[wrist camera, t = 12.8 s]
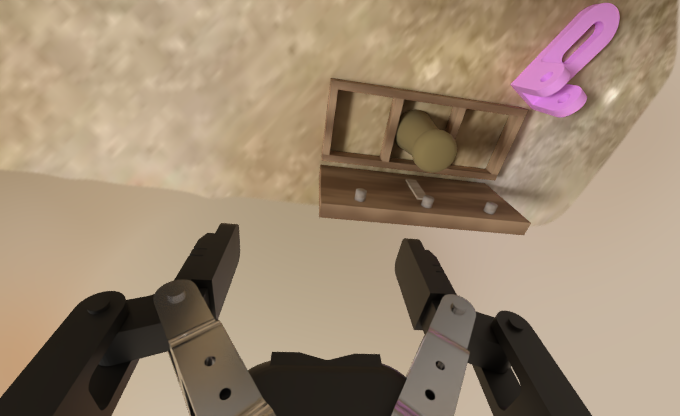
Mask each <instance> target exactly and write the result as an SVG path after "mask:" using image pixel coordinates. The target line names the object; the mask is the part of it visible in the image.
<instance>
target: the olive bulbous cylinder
mask: <svg viewBox="0 0 680 416" xmlns="http://www.w3.org/2000/svg"><path fill="white" fill-rule="evenodd" d="M394 141H395V143H396V144H397V145H398V146H399V147H400V148H402V149H403V150H405V151H406V152H408V153H409V154H411V155H412V157H413V160H414V163H415V164H416V165H417V166H418V167H419V168H420V169H421V170H423V171H425V172H429V173H435V172H440V171H442V170H444V169H446V168H447V167H449V166H450V165H451V164H452V162H453V161H454V159H455V157H456V154H457V145H456V142H455V139H454V138H453V137H452V135H451V134H449V133H447V132H446V131H444V130H438V128H437V127H436V125H435V124H434V123H433V121H432V120H431V118H430V117H429V116H428V115H427V113H425V112H423V111H421V110H416V109H415V110H409V111H407V112H405V113H403V114H402V115H401V116H400V118H399V122H398V126H397V130H396V134H395V138H394Z"/></svg>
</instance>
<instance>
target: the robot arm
mask: <svg viewBox="0 0 680 416" xmlns="http://www.w3.org/2000/svg"><path fill="white" fill-rule="evenodd" d="M239 257H240V239H239V225H238V224H227V223H221V224H220V225H219V227H218V229H217V231H216V233H215V234H214V233H207V234H206V235H204V236H203V237H201V238H200V239H199V240H198V241H197V243H196V245H195V246H194V249H193V250H192V251H191V253H190V256H189V257H188V258H187V260H186V261H185V263H184V265H183V266H182V268H181V270H180V271H179V273H178V275H177V277H176V278H175V280H174V281H171V282H169V283H166V284H164V285H163V286H161V287H160V288H159V289H158V290H157V291H156V293H155V294H153V295H150V296H146V297H140V298H135V299H130V300H126V299H125V296H124V295H123V294H122V293H120V292H116V291H106V292H101V293H97V294H95V295H92V296H90V297H88V298H86V299H85V300H83V301H81V302H80V303H79V304H78V305H77V306H76V307H75V308H74V309H73V311H72V312H71V313H70V314H69V316H68V317H67V318H66V319H65V320H64V321H63V323H62V324H61V325H60V327H59V328H58V329H57V330H56V331H55V332H54V334H53V335H52V336H51V337H50V338H49V340H48V341H47V342H46V343H45V344H44V346H43V347H42V348H41V349H40V350H39V352H38V353H37V354H36V355H35V357H34V358H33V359H32V360H31V362H30V363H29V364H28V365H27V366H26V368H25V369H24V370H23V371H22V372H21V373H20V375H19V376H18V377H17V378H16V380H15V381H14V382H13V383H12V384H11V386H10V387H9V388H8V389H7V391H6V392H5V393H4V394H3V395H2V397H1V398H0V416H111V415H112V413H113V411H114V409H115V407H116V405H117V403H118V401H119V399H120V397H121V395H122V393H123V391H124V389H125V387H126V385H127V383H128V381H129V379H130V377H131V375H132V373H133V371H134V369H135V367H136V365H137V363H138V361H139V359H140V358H143V357H147V356H151V355H155V354H159V353H163V352H167V351H168V354H169V357H170V360H171V362H172V365H173V368H174V371H175V374H176V377H177V379H178V382H179V385H180V387H181V390H182V394H183V397H184V400H185V403H186V406H187V409H188V412H189V415H190V416H454V413H455V410H456V406H457V402H458V398H459V394H460V390H461V386H462V382H463V378H464V374H465V370H466V366H467V363H470V364H472V365H473V368H474V370H475V372H476V375H477V377H478V379H479V382H480V384H481V387H482V389H483V392H484V394H485V396H486V399H487V401H488V404H489V406H490V408H491V411H492V413H493V416H592V415H591V413H590V412H589V411H588V409H587V408H586V406H585V405H584V404H583V402H582V400H581V399H580V397H579V396H578V395H577V393H576V391H575V390H574V389H573V387H572V386H571V384H570V383H569V381H568V380H567V378H566V377H565V375H564V374H563V372H562V371H561V370H560V368H559V367H558V365H557V364H556V362H555V361H554V359H553V358H552V356H551V355H550V353H549V352H548V351H547V349H546V347H545V346H544V345H543V343H542V342H541V340H540V339H539V337H538V336H537V334H536V333H535V331H534V330H533V329H532V327H531V326H530V324H529V323H528V322H527V321H526V320H525V319H523V318H522V317H521V316H519V315H517V314H515V313H513V312H510V311H500V312H499V313H498V314H497V315H496V317H495V318H494V317H491V316H488V315H484V314H481V313H479V312H476V311H475V309H474V307H473V306H472V305H471V303H469V302H468V301H467V300H466V299H464V298H463V297H460V296H458V295H457V294H456V293H455V291H454V289H453V287H452V285H451V283H450V281H449V280H448V278H447V276H446V274H445V273H444V270H443V269H442V267H441V265H440V263H439V261H438V259H437V257H435V256H434V255H433V254H432V253H431V252H430V251H429V250H425V249H424V247H423V245H422V243H421V241H420V240H418V239H406V238H405V239H403V241H402V244H401V246H400V249H399V252H398V255H397V259H396V262H395V274H396V277H397V280H398V283H399V286H400V289H401V292H402V295H403V298H404V301H405V304H406V307H407V310H408V313H409V316H410V319H411V322H412V326H413V328H414V330H423V331H424V334H425V336H424V337H423V340H422V342H421V344H420V346H419V348H418V351H417V353H416V355H415V358H414V360H413V362H412V364H411V367H410V369H409V371H408V373H407V375H406V377H405V376H404V375H402V374H401V373H400V372H398V371H397V370H395V369H393V368H392V367H390V366H387V365H385V364H382V363H381V358H380V354H352V355H348V356H344V357H339V358H335V359H332V360H324V359H320V358H317V357H314V356H310V355H307V354H303V353H300V352H298V353H297V352H272V355H271V361H268V362H264V363H262V364H259V365H257V366H255V367H253V368H251V369H249V370H247V368H246V367H245V365H244V363H243V361H242V359H241V358H240V356H239V354H238V352H237V350H236V348H235V347H234V345H233V343H232V341H231V339H230V338H229V336H228V334H227V332H226V330H225V328H224V327H223V325H222V323H221V322H220V321H219V320H218V317H219V315H220V312H221V309H222V306H223V303H224V301H225V298H226V295H227V293H228V290H229V287H230V284H231V281H232V278H233V276H234V273H235V270H236V268H237V265H238V262H239ZM511 366H512V368H513V370H514V372H515V373H516V375H517V377H518V379H519V382H520V384H519V382H518V380H517V379H516V377H515V375H514V373H513V371H512V369H511ZM520 385H521V386H520Z"/></svg>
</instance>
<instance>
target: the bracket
mask: <svg viewBox="0 0 680 416" xmlns="http://www.w3.org/2000/svg"><path fill="white" fill-rule="evenodd" d="M619 19H620V16H619V11H618V9H617V7H616V6H615V5H613V4H611V3H601V4H594V5H591V6H588V7H586V8H585V9H583V10H582V11H581V12H579V13H578V14H577V15H576V17H575V18H574V19H573V20H572V21H571V22H570V23H569V24H568V25H567V26H566V27H565V28H564V29H563V30H562V31H561V32H560V33H559V34H558V35H557V36H556V37H555V38H554V39H553V41H552V42H551V43H550V44H549V45H548V46H547V47H546V48H545V49H544V50H543V51H542V52H541V53H540V54H539V55H538V56H537V57H536V58H535V59H534V60H533V61H532V62H531V64H530V65H529V66H528V67H527V68H526V69H525V70H524V71H523V72H522V73H521V74H520V75H519V76H518V77H517V78H516V79H515V80H514V81H513V82H512V83H511V84H510V85H511V86H512V87H513V88H514V89H515V90H516V92H517V93H518V94H519V95H520V96H521V97H522V98H523V99H524V101H525V102H526V103H527V104H528V105H529V106H530V107H531V108H532V109H534V110H537V111H540V112H543V113H546V114H549V115H552V116H556V117H565V116H568V115H571V114H573V113H575V112H576V111H578V110H579V109H580V108H581V107H582V106H583V105H584V104H585V102H586V100H587V95H586V94H585V93H584V91H583V90H582V89H581V87H579V86H576V85H570V84H566V83H567V82H568V81H569V80H570V79H571V78H573V77H574V76H575V75H576V74H577V73H578V72H579V71H580V70H581V69H582V68H583V67H584V66H585V65H586V64H587V63H588V62H589V61H590V60H591V59H592V58H593V57H594V56H595V55H596V54H598V53H599V52H600V51H601V50H602V49H603V48H604V47H605V46H606V45H607V44H608V43H609V42H610V40H611V39H612V38H613V36H614V34H615V33H616V30H617V28H618V25H619ZM593 24H595V30H594V32H593V34H592V35H591V36H590V37H589V38H588V39H587V40H586V41H585V42H584V43H583V44H582V45H581V46H580V47H579V48H578V49H577V50H576V51H575V52H574V53H573V54H572V55H571V56H570V57H569V58H568V59H567V60H566V61H565V62H562V57H563V55H564V53H565V52H566V51H567V50H568V49H569V48H570V47H571V46H572V45H573V44H574V43H575V42H576V41H577V40H578V39H579V38H580V37H581V36H582V35H583V34H584V33H585V32H586V31H587V30H588V29H589V28H590V27H591V26H592V25H593Z"/></svg>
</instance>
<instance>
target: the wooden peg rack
mask: <svg viewBox="0 0 680 416" xmlns="http://www.w3.org/2000/svg"><path fill="white" fill-rule="evenodd" d="M338 89H339V90H345V91H352V92H359V93H365V94H372V95H379V96H385V97H392V98H393V101H392V105H391V109H390V114H389V118H388V122H387V127H386V131H385V136H384V140H383V144H382V149H381V153H380V156H372V155H363V154H355V153H347V152H338V151H330V146H331V138H332V131H333V123H334V116H335V108H336V101H337V93H338ZM404 99H406V100H412V101H419V102H426V103H432V104H439V105H446V106H452V107H453V108H452V111H451V114H450V117H449V120H448V123H447V126H446V129H445V131H446V132H447V133H449V134H451V135H452V137H453V138H454V139H456V136H457V133H458V130H459V128H460V125H461V122H462V119H463V117H464V114H465V111H466V109H473V110H479V111H486V112H493V113H499V114H506V115H509V117H508V120H507V122H506V124H505V126H504V129H503V131H502V133H501V135H500V138H499V140H498V142H497V144H496V147H495V149H494V151H493V153H492V156H491V158H490V160H489V162H488V165H487V167H486V169H480V168H472V167H464V166H455V165H450V166H449V167H447V168H446V169H444V170H442V171H440V172H435V173H434V174H443V175H452V176H460V177H469V178H478V179H487V180H496V177H497V175H498V173H499V171H500V169H501V167H502V165H503V163H504V161H505V158H506V156H507V154H508V152H509V150H510V148H511V146H512V144H513V141H514V139H515V137H516V135H517V133H518V131H519V129H520V127H521V125H522V122H523V120H524V118H525V116H526V114H527V112H528V110H527V109H524V108H521V107H515V106H509V105H502V104H496V103H489V102H483V101H476V100H470V99H463V98H457V97H450V96H444V95H437V94H431V93H424V92H418V91H411V90H405V89H398V88H392V87H385V86H379V85H372V84H366V83H359V82H353V81H346V80H340V79H333V78H331V81H330V89H329V98H328V106H327V115H326V123H325V131H324V140H323V148H322V161H329V162H338V163H347V164H355V165H364V166H373V167H382V168H390V169H399V170H408V171H417V172H425V171H423V170H421V169H420V168H419V167H418V166H417V165H416V164H415V163H414V161H413V160H405V159H397V158H390V154H391V150H392V146H393V142H394V138H395V134H396V130H397V126H398V122H399V118H400V114H401V110H402V106H403V102H404ZM425 173H429V172H425ZM319 217H323V218H334V219H346V220H357V221H368V222H380V223H391V224H403V225H414V226H425V227H437V228H448V229H459V230H471V231H482V232H493V233H505V234H516V235H524V234H525V232H526V231H527V229H528V227H529V226H530V224H531V223H530V222H529V221H528V220H527V219H526V218H525V217H523V216H522V215H521V214H520V213H519V212H518V211H516V210H515V209H514V208H513V207H512V206H511V205H509V204H508V203H507V202H506V201H505V200H504V199H502V198H501V197H500V196H499V195H498V194H497V193H496V192H494V191H493V190H492V189H491V188H490V187H489V186H487V185H486V184H485V183H477V182H468V181H459V180H450V179H442V178H433V177H424V176H415V175H406V174H397V173H388V172H379V171H370V170H361V169H353V168H344V167H335V166H326V165H320V174H319Z"/></svg>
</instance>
